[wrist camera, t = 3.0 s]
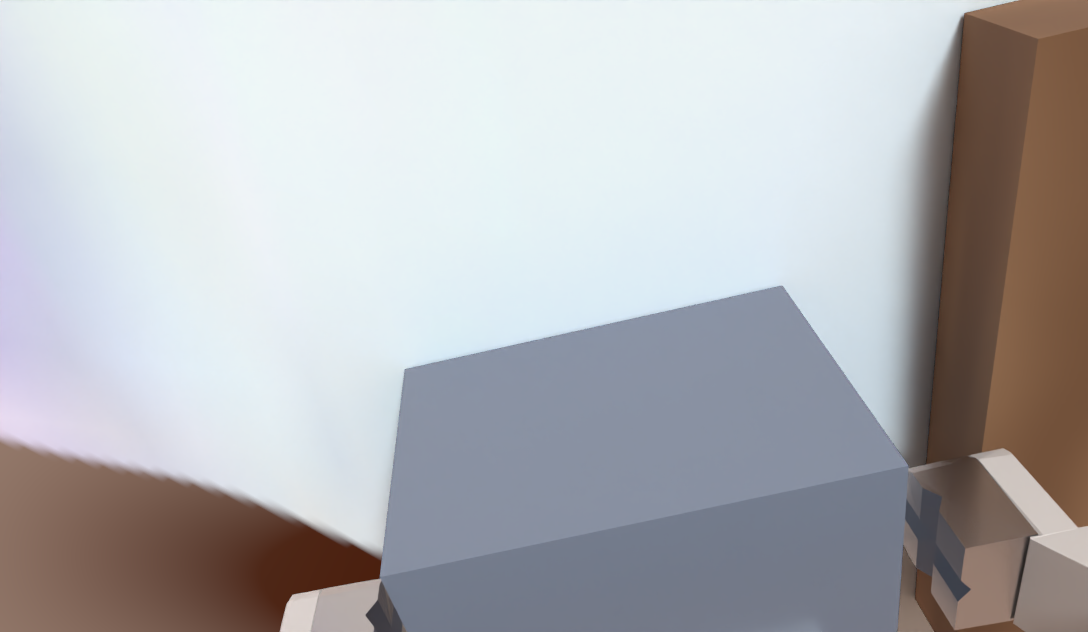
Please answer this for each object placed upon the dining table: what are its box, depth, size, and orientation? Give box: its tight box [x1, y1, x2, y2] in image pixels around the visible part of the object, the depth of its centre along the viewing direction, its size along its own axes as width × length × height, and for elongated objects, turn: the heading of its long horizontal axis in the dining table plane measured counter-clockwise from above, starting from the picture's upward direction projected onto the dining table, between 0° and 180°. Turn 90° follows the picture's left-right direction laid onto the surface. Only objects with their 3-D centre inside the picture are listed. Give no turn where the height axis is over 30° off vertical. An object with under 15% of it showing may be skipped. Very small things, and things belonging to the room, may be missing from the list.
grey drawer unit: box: [380, 286, 909, 632], centre depth 12 cm, size 6×6×4 cm
